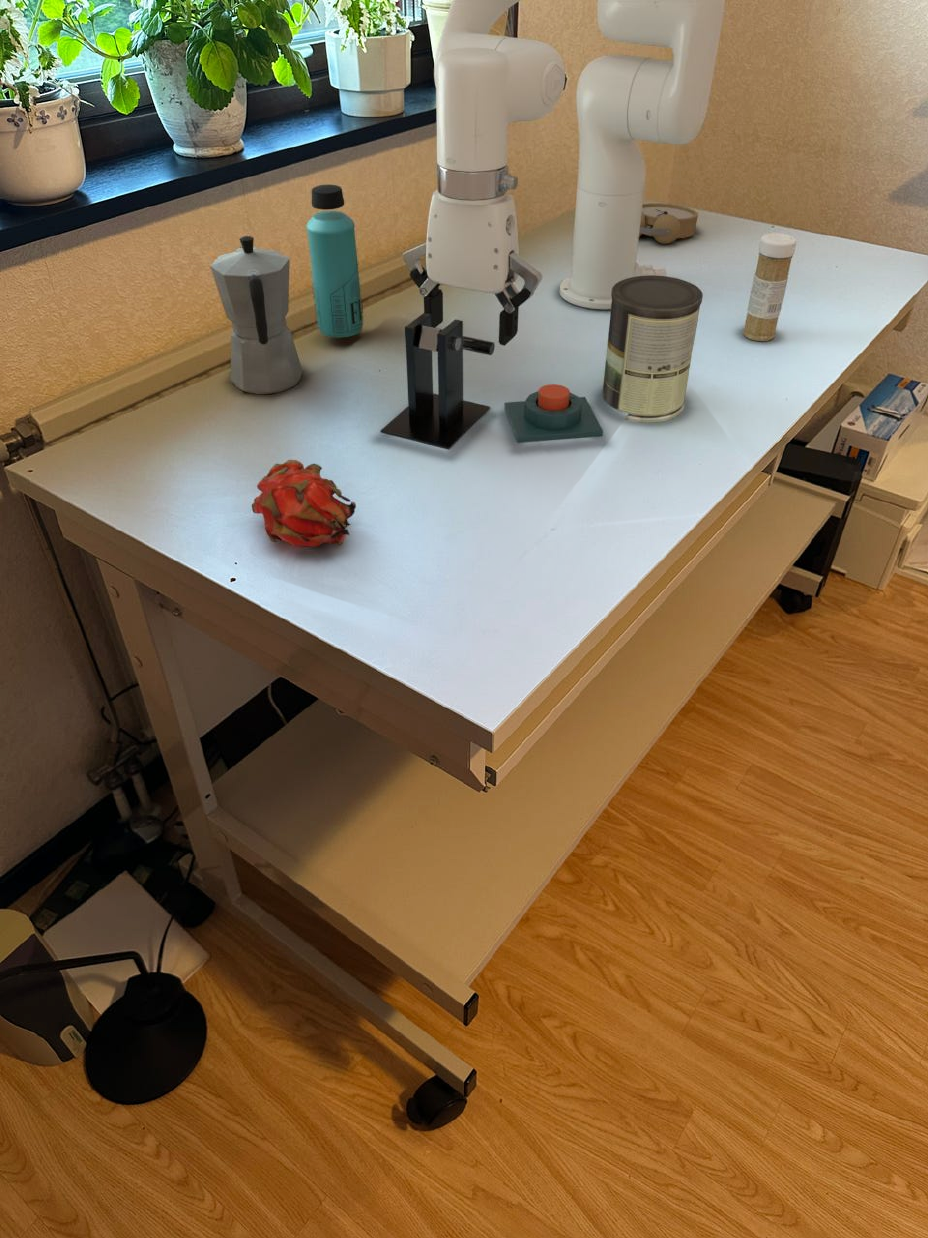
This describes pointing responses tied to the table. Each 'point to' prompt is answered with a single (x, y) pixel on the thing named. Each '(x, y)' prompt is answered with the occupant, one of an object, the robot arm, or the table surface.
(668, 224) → the alarm clock
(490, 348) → the lever
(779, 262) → the sprinkles bottle
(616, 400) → the coffee can
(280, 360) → the coffeepot
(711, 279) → the table surface
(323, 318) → the beverage bottle
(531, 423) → the button box
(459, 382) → the bracket
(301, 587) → the table surface
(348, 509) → the dragon fruit
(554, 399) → the button
